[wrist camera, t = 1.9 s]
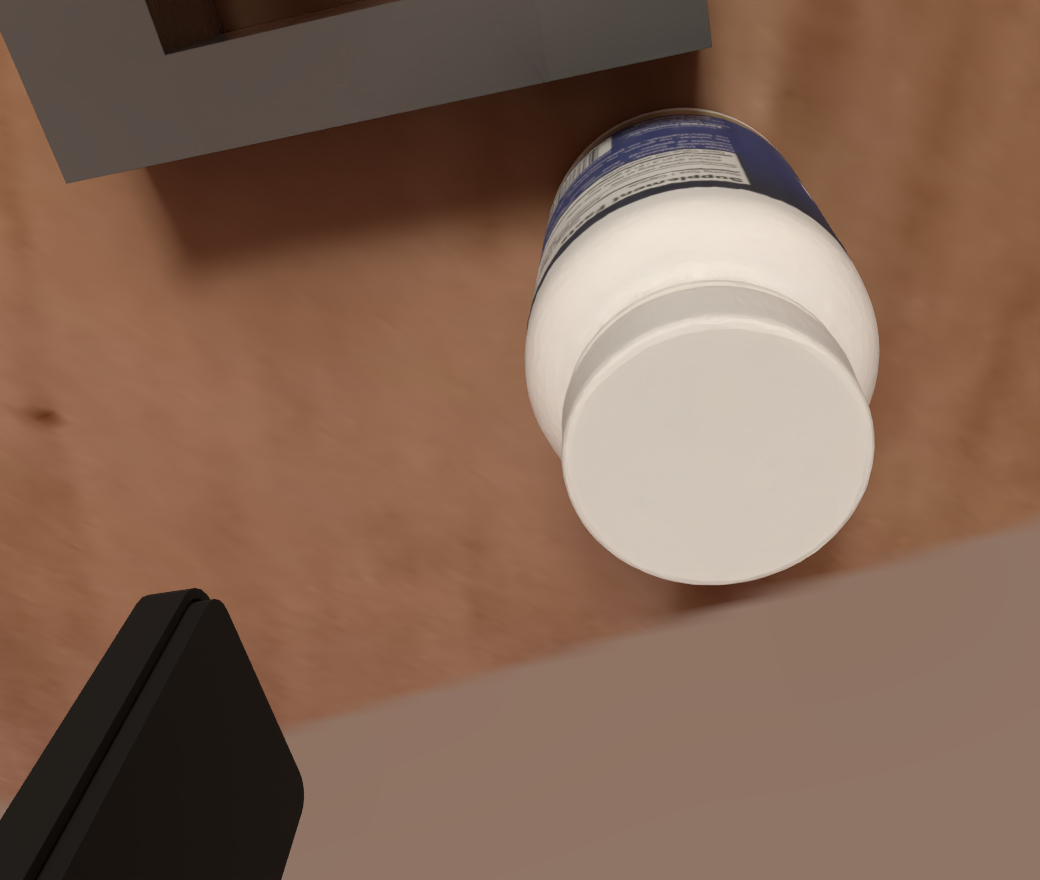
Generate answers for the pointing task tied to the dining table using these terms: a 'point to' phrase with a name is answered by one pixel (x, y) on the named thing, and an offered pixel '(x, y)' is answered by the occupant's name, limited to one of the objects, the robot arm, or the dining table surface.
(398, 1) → the socket block
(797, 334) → the pill bottle
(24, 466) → the dining table surface
